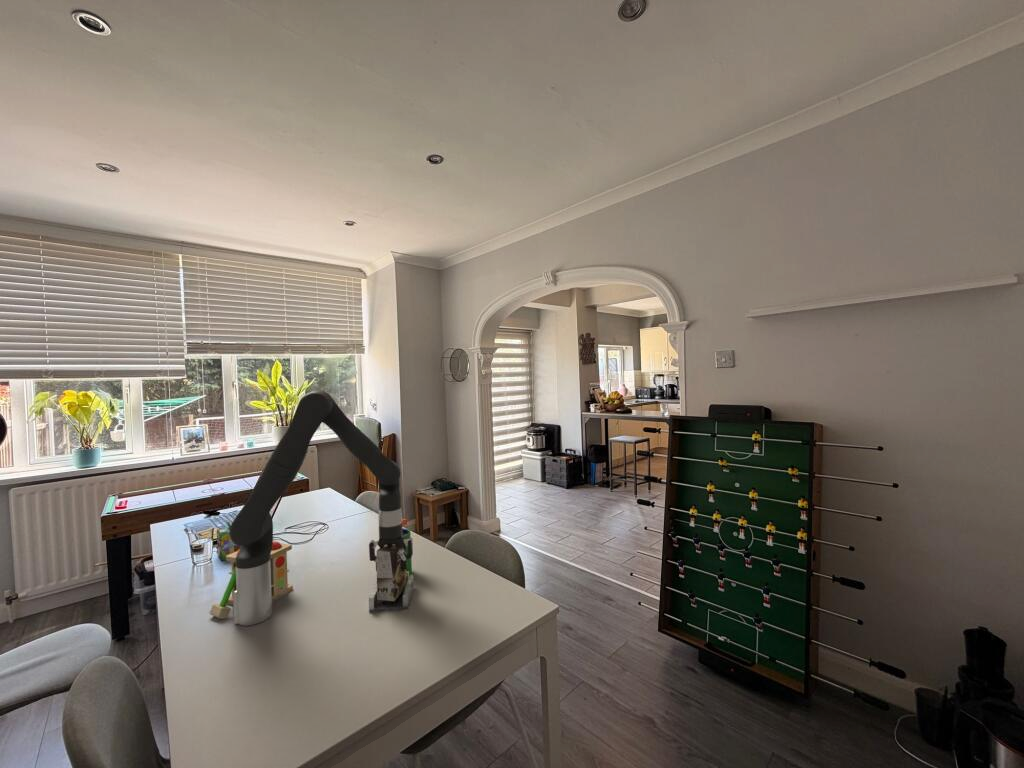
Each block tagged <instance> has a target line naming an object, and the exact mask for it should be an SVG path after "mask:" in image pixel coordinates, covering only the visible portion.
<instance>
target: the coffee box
mask: <svg viewBox="0 0 1024 768" xmlns="http://www.w3.org/2000/svg"><path fill="white" fill-rule="evenodd" d="M403 549H404V551H405V553H406V546H405V543H403V545H402V546H401V548H400V547H397V548H393V547H388V548H385V549H384V548H380V547H379V548H378V549H376V556H377V572H376V582H377V600H386V601H395V600H396V599H397V598H398V596H399V595H400V594H401V593H402V592H403V591H404V590H405V587H406V570H405V572H402V558H401V557H400V556H399V550H401V551H402V550H403Z"/></svg>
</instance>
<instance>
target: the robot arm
mask: <svg viewBox="0 0 1024 768" xmlns="http://www.w3.org/2000/svg"><path fill="white" fill-rule="evenodd" d="M322 424H324V425H325V426H327V427H328V428H329V429H330V430H331V431H332V432H334V434H335V435H336V436H337V438H339V440H340V441H341V443H342V444H343V445H344V447H345V448H346V449H347V450H348V451H349V452H350V453H351V454H352V455H353V456H354V457H355V458H356V459H357V460H358V461H359V462H360V463H362V465H364V466H365V467H366V468H367V469H368V470H369V471H370V472H371V473H372V475H373V476H374V477H375V479H377V480H378V489H379V492H378V493H379V494H378V540H377V541H376V540H373V539H372V540H370V541H369V544H368V551H369V552H368V553H369V554H368V555H369V561H370V562H372V561H373V562H375V571H376V573H377V555H376V547H377V546H378V547H379V548H384V549H385V548H388V547H393V548H397V547H400V548H401V546H402V545H403V543H405V544H406V546H408V554H406V553H405V551H404V549H403V550H402V551H401V550H399V556H400V557H401V558H402V572H405V570H406V569H407V559H410V558H411V559H412V558H413V555H414V553H413V552H414V551H413V549H414V548H413V544H414V543H413V537H411V538H409V539H404V538H403V533H402V528H403V527H402V519H403V511H402V498H401V491H400V478H401V470H400V467H399V466H400V465H398V463H396V462H395V461H393V460H390V458H388V456H386V455H385V453H383V451H382V449H380V447H379V446H378V445H377V444H376V443H375V442H373V441H372V440H371V438H369V437H368V436H367V434H365V433H364V432H363V431H362V430H360V428H358V427H357V426H356V424H354V422H352V421H351V420H350V418H349V417H347V415H346V414H345V413H344V412H343V410H342V409H341V408H340V406H339V405H338V404H337V403H336V401H335V399H333V397H332V396H331V395H330V394H329V392H327V391H324V390H320V389H318V390H312V391H310V392H308V393H305V394H304V395H303V396H302V397H301V398H300V399H299V402H298V404H297V406H296V409H295V411H294V415H293V417H292V419H291V421H290V424H289V425H288V427H287V430H286V431H285V433H284V434H283V436H282V437H281V439H280V440H279V442H278V443H277V444H276V446H275V448H274V450H273V451H272V453H271V455H270V457H269V458H268V460H267V462H266V464H265V466H264V467H263V469H262V471H261V474H260V476H259V477H258V480H257V482H256V483H255V485H254V487H253V490H252V492H251V494H250V496H249V497H248V499H247V501H246V502H245V503H244V505H243V506H242V508H241V510H240V511H239V512H238V514H237V515H236V517H235V518H234V520H233V521H232V523H230V525H231V527H230V538H231V540H232V542H233V543H234V544H236V545H239V546H241V548H240V551H239V553H238V555H237V556H236V591H235V592H234V593H233V600H234V605H233V624H234V625H236V624H237V625H240V626H243V627H244V626H247V627H248V626H252V625H253V626H254V625H256V624H260V623H263V622H264V621H266V620H267V619H269V618H270V617H271V616H272V614H273V605H272V604H273V601H272V593H271V562H270V554H271V551H272V547H273V542H274V524H273V523H274V521H273V518H272V515H271V511H272V509H273V507H274V506H275V504H276V503H277V502H278V501H279V499H280V498H281V497H282V496H283V494H284V493H286V491H287V490H288V488H289V487H290V486H291V484H292V483H293V482H294V480H295V478H296V477H297V475H298V473H299V471H300V470H301V467H302V465H303V464H304V461H305V458H306V455H307V453H308V449H309V448H310V447H309V445H310V443H311V441H312V439H313V437H314V436H315V435H314V434H315V433H316V432H317V430H318V428H319V427H320V426H321V425H322Z"/></svg>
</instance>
